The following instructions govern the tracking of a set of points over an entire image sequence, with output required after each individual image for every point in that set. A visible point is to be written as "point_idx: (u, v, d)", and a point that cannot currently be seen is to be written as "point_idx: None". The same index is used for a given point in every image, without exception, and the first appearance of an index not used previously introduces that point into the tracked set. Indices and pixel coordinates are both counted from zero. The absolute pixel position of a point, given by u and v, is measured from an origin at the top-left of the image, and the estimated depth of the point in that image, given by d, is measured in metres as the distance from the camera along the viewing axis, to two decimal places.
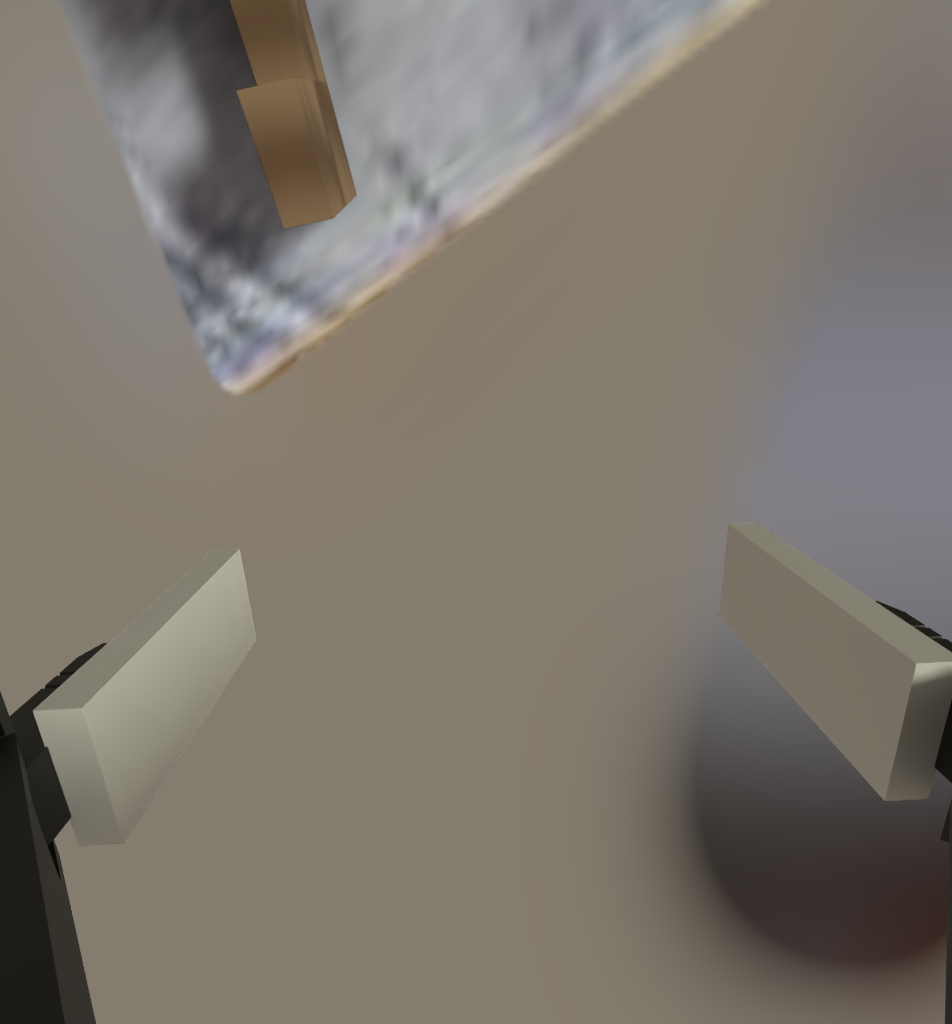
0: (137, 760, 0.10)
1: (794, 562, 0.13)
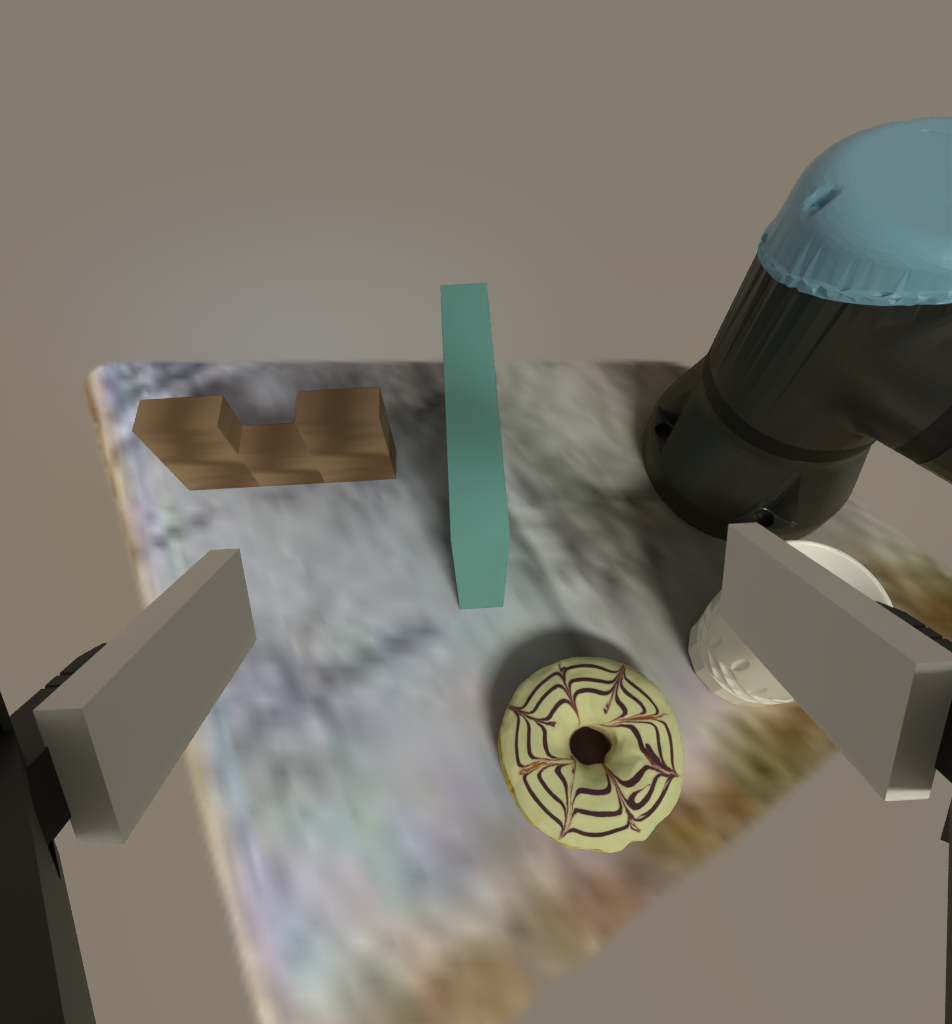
0: (137, 760, 0.10)
1: (794, 562, 0.13)
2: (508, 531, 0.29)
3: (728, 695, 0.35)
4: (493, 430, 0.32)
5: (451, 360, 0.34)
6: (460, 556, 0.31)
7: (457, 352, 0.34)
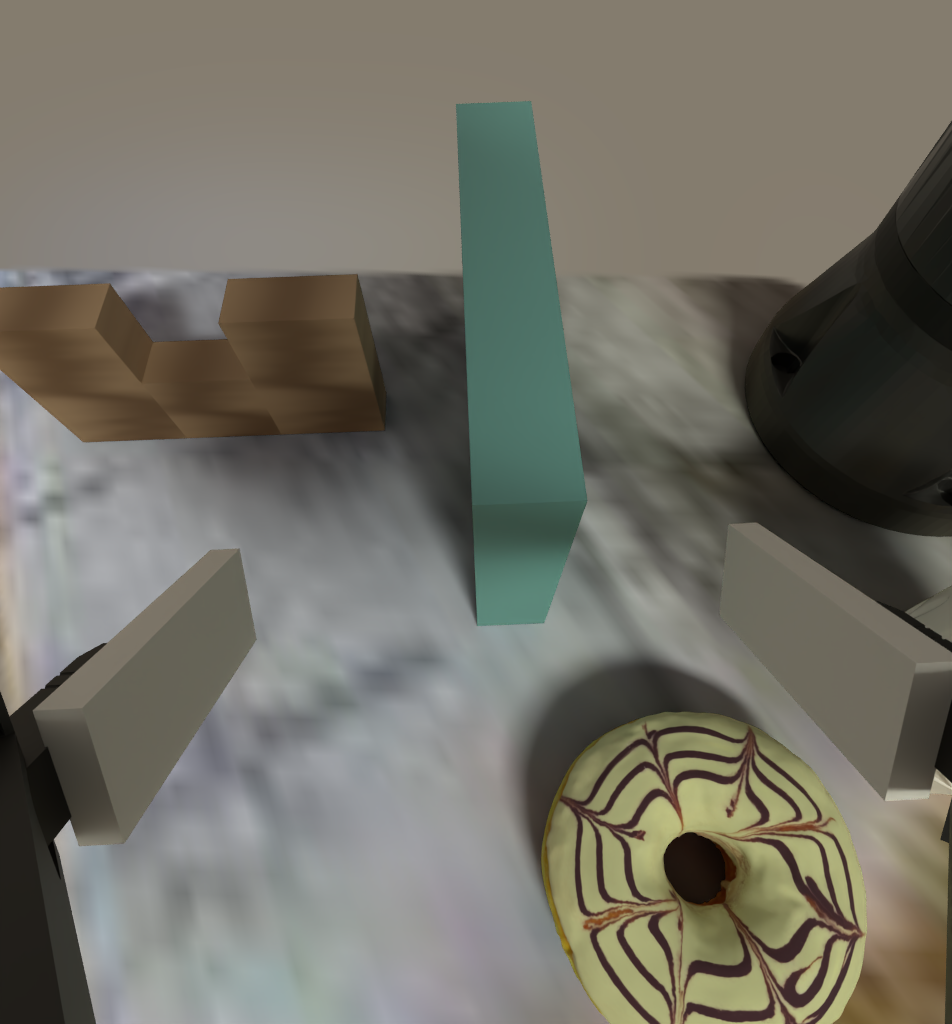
0: (137, 760, 0.10)
1: (794, 562, 0.13)
2: (583, 492, 0.15)
3: None
4: (548, 316, 0.18)
5: (473, 207, 0.20)
6: (487, 540, 0.17)
7: (484, 196, 0.20)
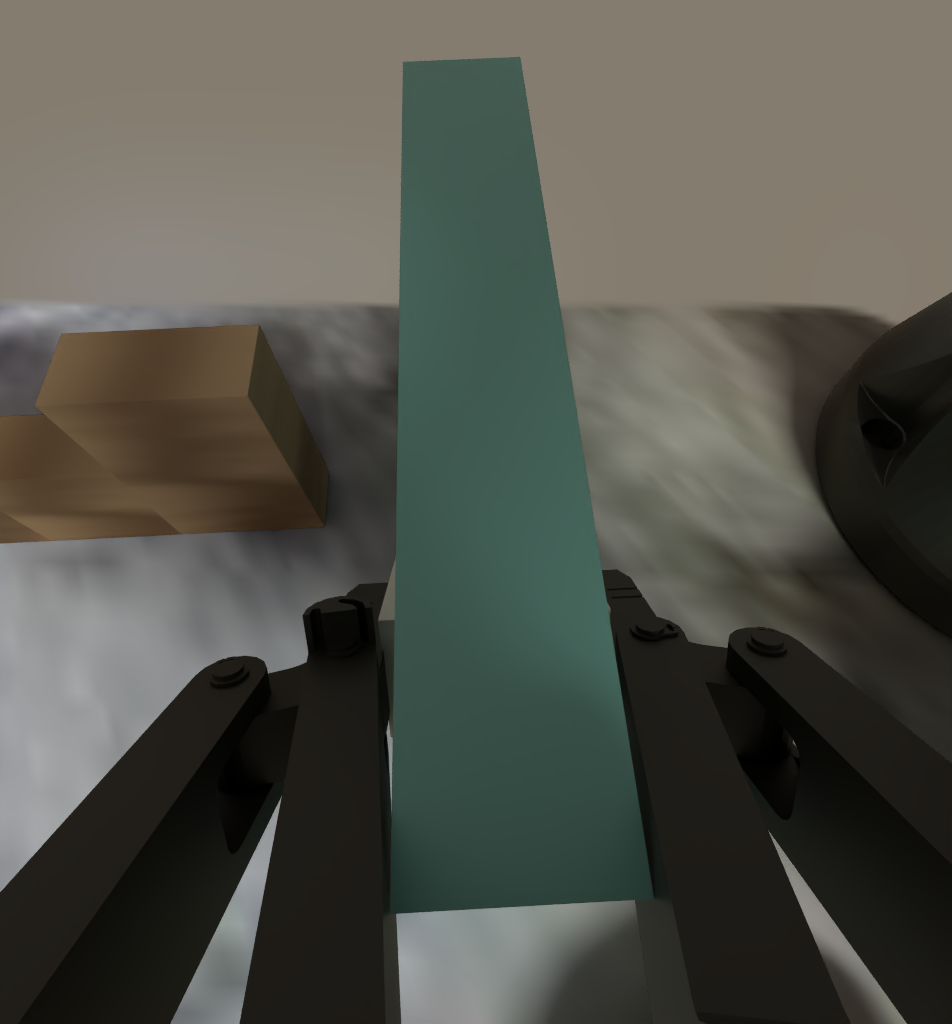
0: None
1: None
2: (644, 873, 0.07)
3: None
4: (556, 431, 0.09)
5: (423, 225, 0.12)
6: None
7: (442, 206, 0.12)
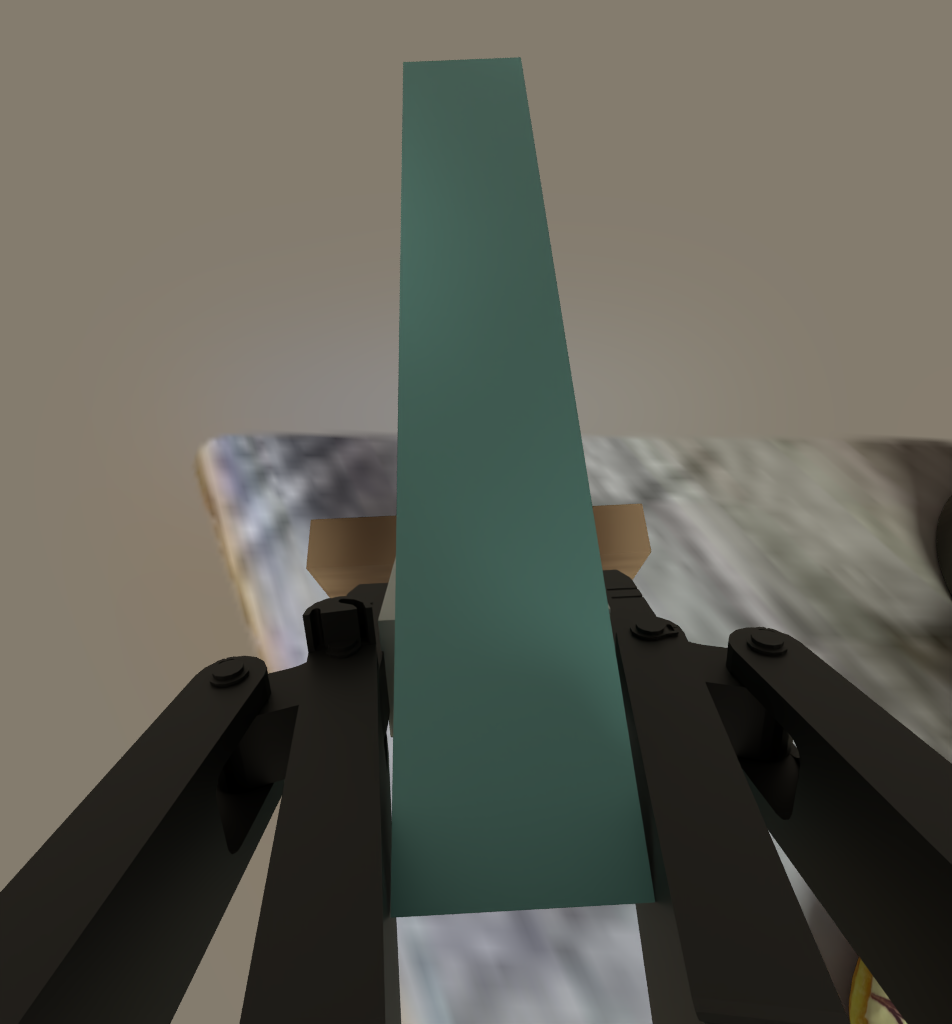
0: None
1: None
2: (646, 877, 0.07)
3: None
4: (556, 432, 0.09)
5: (423, 225, 0.12)
6: None
7: (442, 207, 0.12)
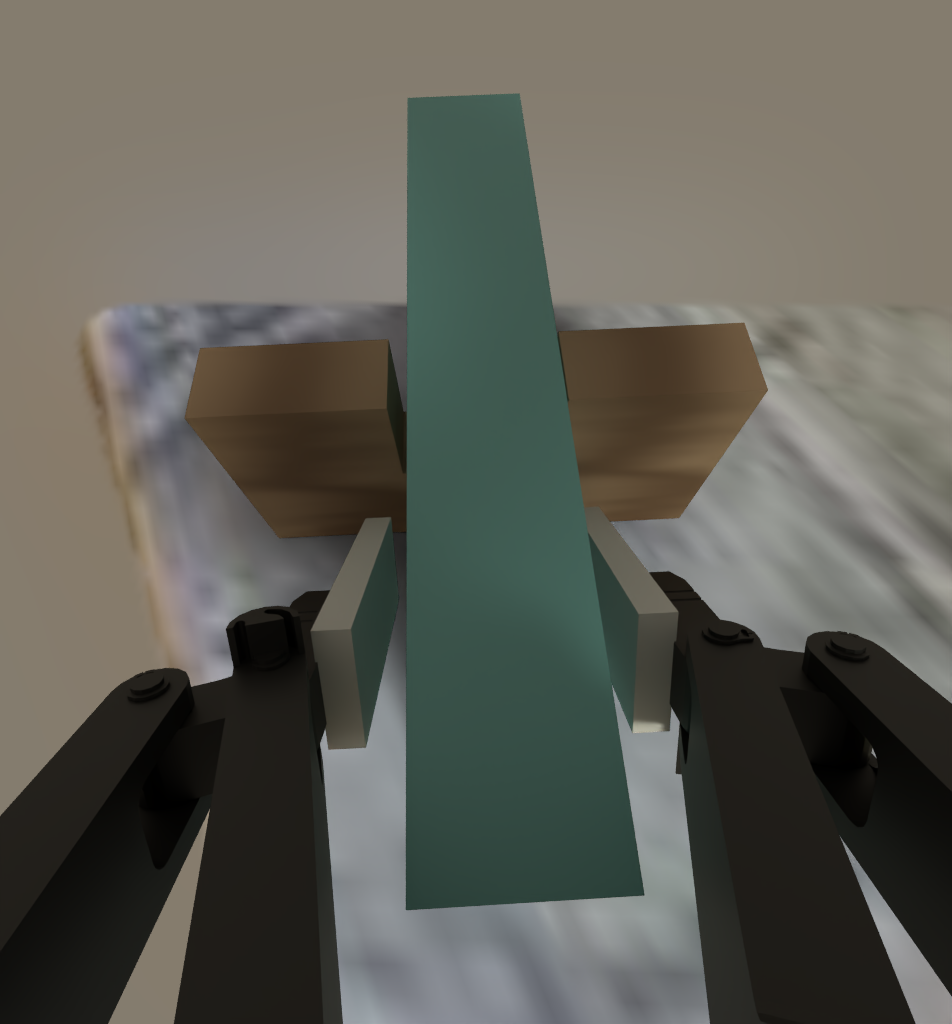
0: (367, 681, 0.12)
1: (604, 538, 0.14)
2: (636, 872, 0.07)
3: None
4: (554, 460, 0.10)
5: (428, 260, 0.12)
6: None
7: (446, 242, 0.13)
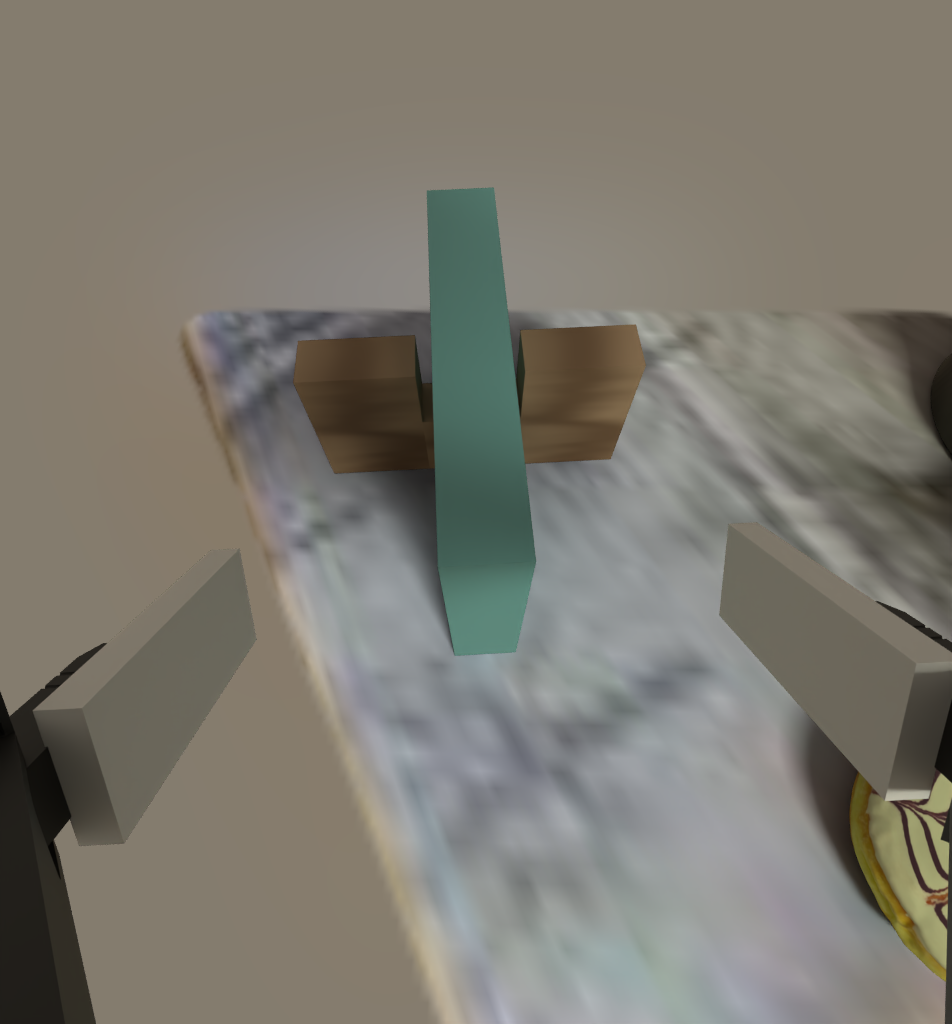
0: (137, 760, 0.10)
1: (794, 562, 0.13)
2: (533, 554, 0.17)
3: None
4: (506, 394, 0.20)
5: (441, 291, 0.23)
6: (454, 591, 0.19)
7: (451, 280, 0.23)
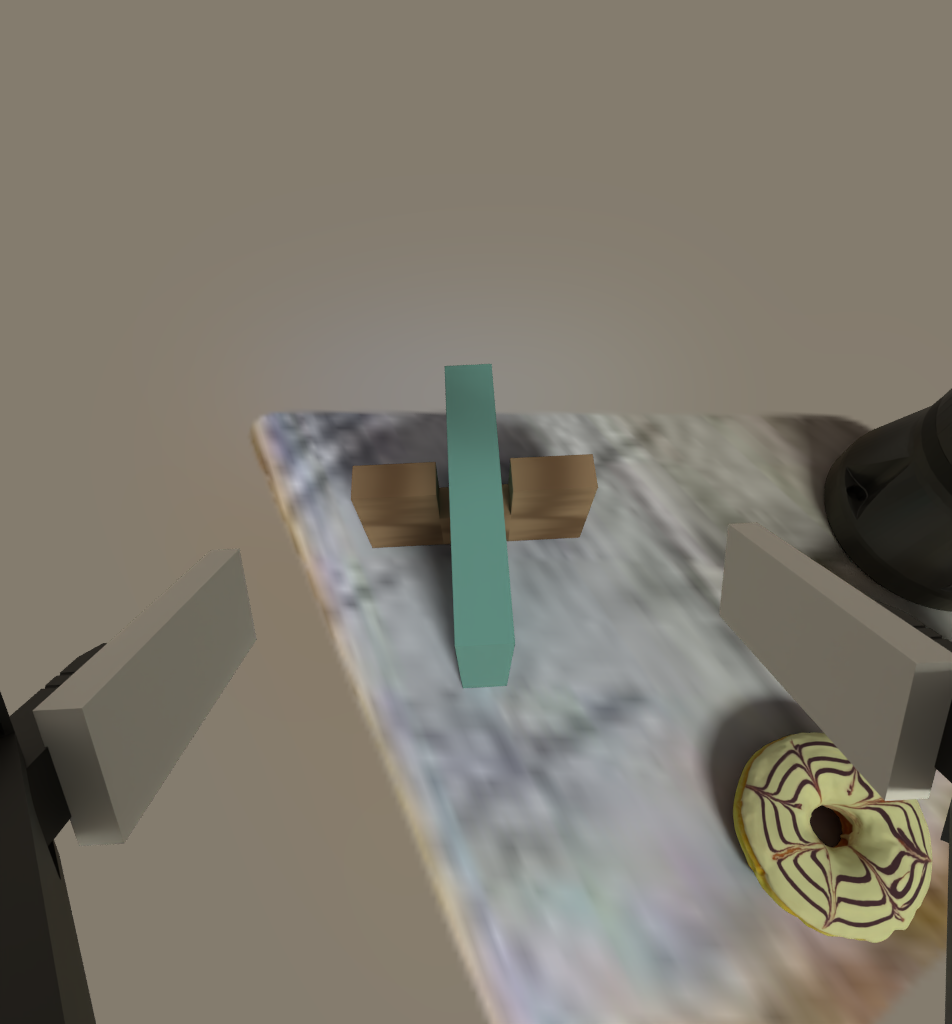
0: (137, 760, 0.10)
1: (794, 562, 0.13)
2: (513, 638, 0.28)
3: None
4: (498, 527, 0.31)
5: (455, 448, 0.34)
6: (464, 656, 0.30)
7: (462, 440, 0.34)
